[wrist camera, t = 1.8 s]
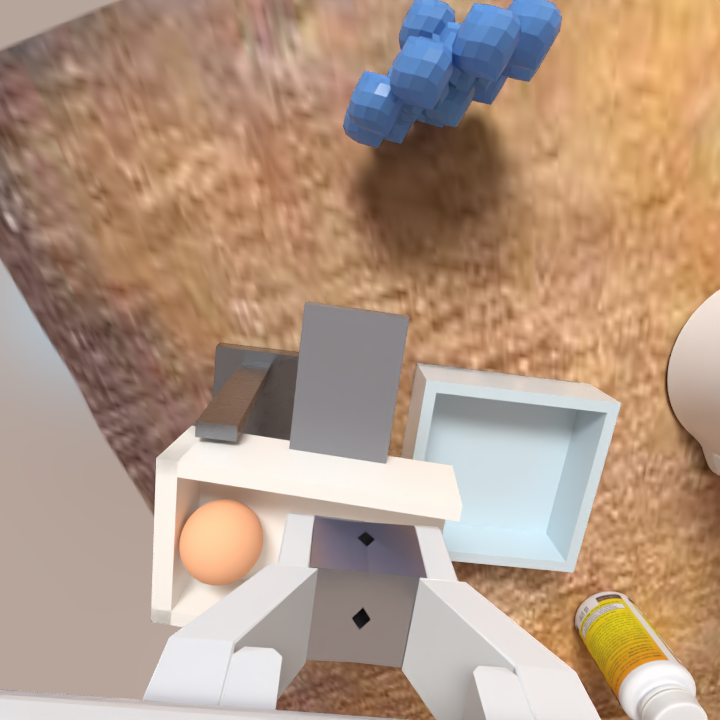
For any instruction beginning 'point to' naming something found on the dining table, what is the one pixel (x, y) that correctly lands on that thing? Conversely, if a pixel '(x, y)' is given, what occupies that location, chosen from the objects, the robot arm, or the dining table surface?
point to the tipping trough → (303, 458)
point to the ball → (221, 542)
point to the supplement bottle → (636, 660)
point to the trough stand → (250, 393)
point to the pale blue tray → (512, 460)
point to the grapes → (450, 66)
